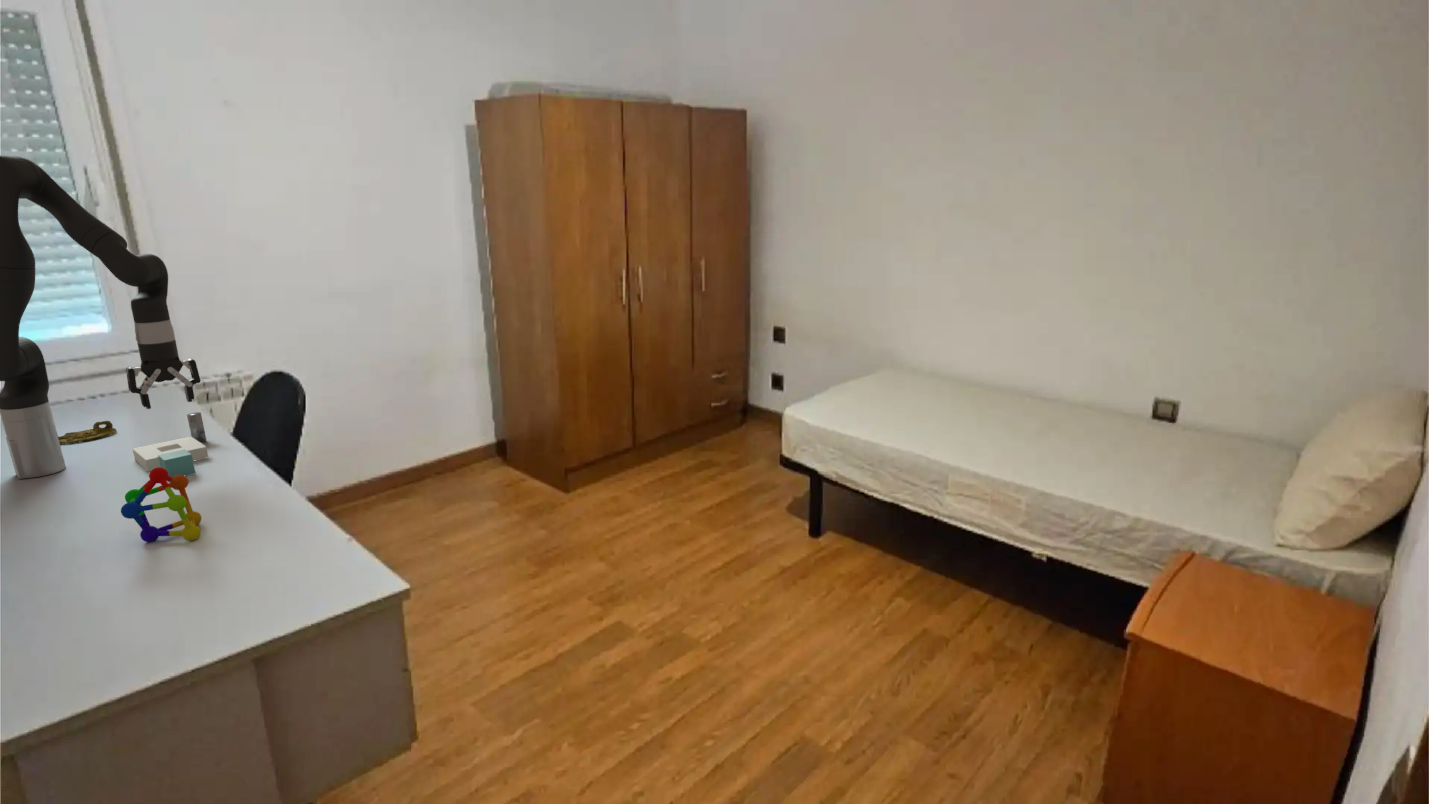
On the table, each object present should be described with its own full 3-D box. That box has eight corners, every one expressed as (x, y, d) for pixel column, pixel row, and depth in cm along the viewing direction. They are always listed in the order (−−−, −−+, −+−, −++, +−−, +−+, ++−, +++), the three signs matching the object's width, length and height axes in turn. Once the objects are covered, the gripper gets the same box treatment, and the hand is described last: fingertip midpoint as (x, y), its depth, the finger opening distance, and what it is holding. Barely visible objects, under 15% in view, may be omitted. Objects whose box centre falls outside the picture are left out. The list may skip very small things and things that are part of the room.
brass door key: (52, 453, 211) (120, 439, 220) (47, 437, 209) (116, 424, 219) (48, 441, 217) (114, 429, 227) (44, 426, 215) (111, 414, 225)
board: (148, 471, 192) (145, 460, 191) (135, 459, 200) (132, 448, 199) (208, 457, 201) (206, 446, 200) (193, 447, 209) (191, 436, 208)
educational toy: (125, 542, 156) (107, 470, 153) (200, 523, 164) (185, 454, 161) (134, 561, 144) (116, 484, 141) (215, 540, 153) (199, 466, 150)
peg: (195, 444, 211) (189, 416, 209) (191, 442, 213) (185, 414, 211) (208, 441, 213) (202, 413, 211) (204, 439, 216) (198, 411, 213)
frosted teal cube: (168, 480, 186) (164, 460, 185) (162, 474, 190) (157, 455, 188) (195, 473, 190) (191, 454, 189) (188, 468, 194) (184, 449, 192)
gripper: (123, 346, 179) (137, 414, 184) (194, 337, 189) (207, 401, 193) (116, 341, 184) (130, 407, 189) (186, 333, 194) (198, 396, 199)
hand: (169, 404), depth 191 cm, fingers open, 8 cm apart
